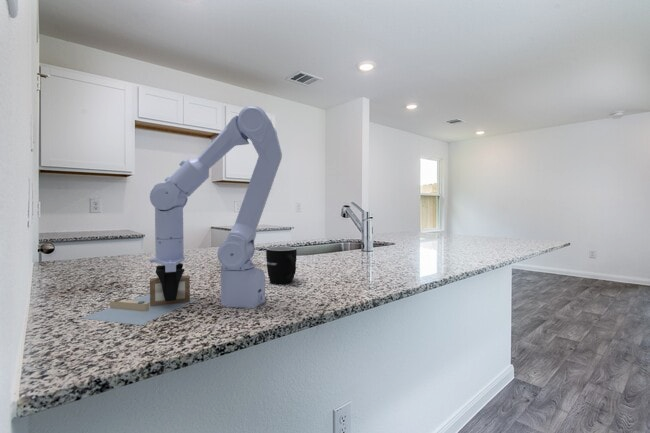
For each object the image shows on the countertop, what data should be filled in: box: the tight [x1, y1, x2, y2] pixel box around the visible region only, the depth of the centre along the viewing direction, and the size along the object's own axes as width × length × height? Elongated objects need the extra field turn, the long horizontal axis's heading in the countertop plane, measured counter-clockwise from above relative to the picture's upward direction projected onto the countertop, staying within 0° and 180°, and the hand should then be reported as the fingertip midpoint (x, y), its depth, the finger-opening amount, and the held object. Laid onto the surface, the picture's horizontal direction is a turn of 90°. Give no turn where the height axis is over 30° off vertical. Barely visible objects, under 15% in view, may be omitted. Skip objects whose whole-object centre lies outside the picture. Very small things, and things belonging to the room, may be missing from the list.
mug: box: [265, 246, 298, 285], centre depth 99 cm, size 12×9×10 cm
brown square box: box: [149, 274, 191, 306], centre depth 76 cm, size 8×3×6 cm, turn 116°
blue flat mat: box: [79, 294, 198, 326], centre depth 71 cm, size 14×17×3 cm
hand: (170, 298), depth 76 cm, fingers open, 3 cm apart
